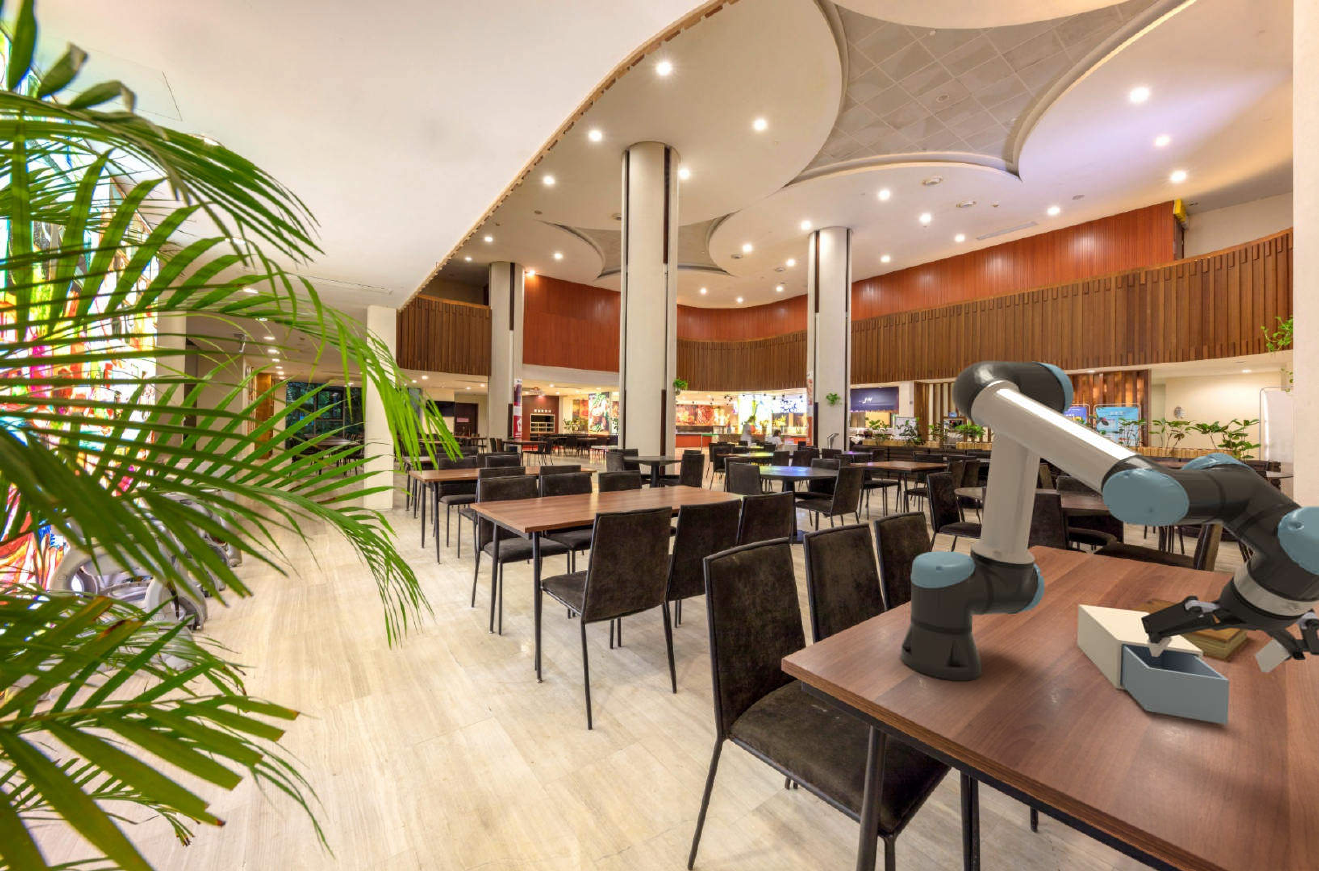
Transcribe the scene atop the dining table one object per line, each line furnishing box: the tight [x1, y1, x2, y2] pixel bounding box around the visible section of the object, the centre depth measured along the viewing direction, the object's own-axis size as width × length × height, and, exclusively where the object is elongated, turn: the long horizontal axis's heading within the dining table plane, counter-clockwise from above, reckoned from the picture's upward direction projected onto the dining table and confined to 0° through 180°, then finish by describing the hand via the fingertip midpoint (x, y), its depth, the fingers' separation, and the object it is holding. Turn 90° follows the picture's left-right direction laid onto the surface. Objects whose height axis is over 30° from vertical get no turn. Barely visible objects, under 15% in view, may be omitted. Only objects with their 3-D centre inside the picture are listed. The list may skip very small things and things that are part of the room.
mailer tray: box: [1120, 644, 1230, 726], centre depth 101 cm, size 22×11×8 cm, turn 157°
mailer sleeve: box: [1076, 604, 1204, 691], centre depth 110 cm, size 22×13×10 cm, turn 157°
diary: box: [1130, 597, 1252, 663], centre depth 129 cm, size 23×19×6 cm
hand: (1205, 656), depth 87 cm, fingers open, 13 cm apart
